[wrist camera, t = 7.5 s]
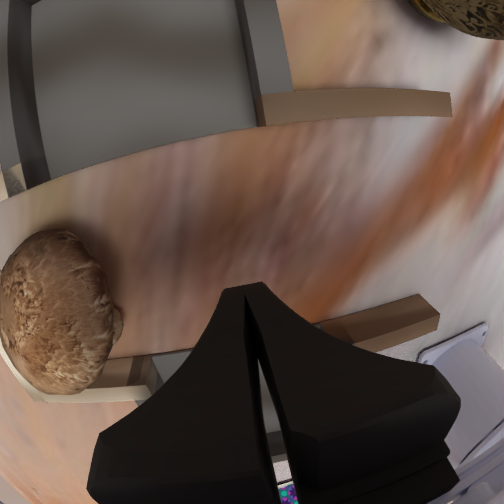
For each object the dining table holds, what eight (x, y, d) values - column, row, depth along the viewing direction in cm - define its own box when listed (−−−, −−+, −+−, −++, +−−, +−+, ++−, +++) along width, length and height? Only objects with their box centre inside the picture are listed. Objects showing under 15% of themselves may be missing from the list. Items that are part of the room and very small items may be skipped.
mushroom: (168, 386, 14) (71, 432, 8) (73, 368, 16) (-6, 387, 10) (151, 224, 14) (43, 203, 8) (61, 246, 17) (-21, 239, 11)
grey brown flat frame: (396, 400, 22) (408, 420, 20) (105, 451, 21) (101, 473, 18) (380, -56, 9) (401, -73, 6) (-51, 51, 7) (-75, 48, 5)
